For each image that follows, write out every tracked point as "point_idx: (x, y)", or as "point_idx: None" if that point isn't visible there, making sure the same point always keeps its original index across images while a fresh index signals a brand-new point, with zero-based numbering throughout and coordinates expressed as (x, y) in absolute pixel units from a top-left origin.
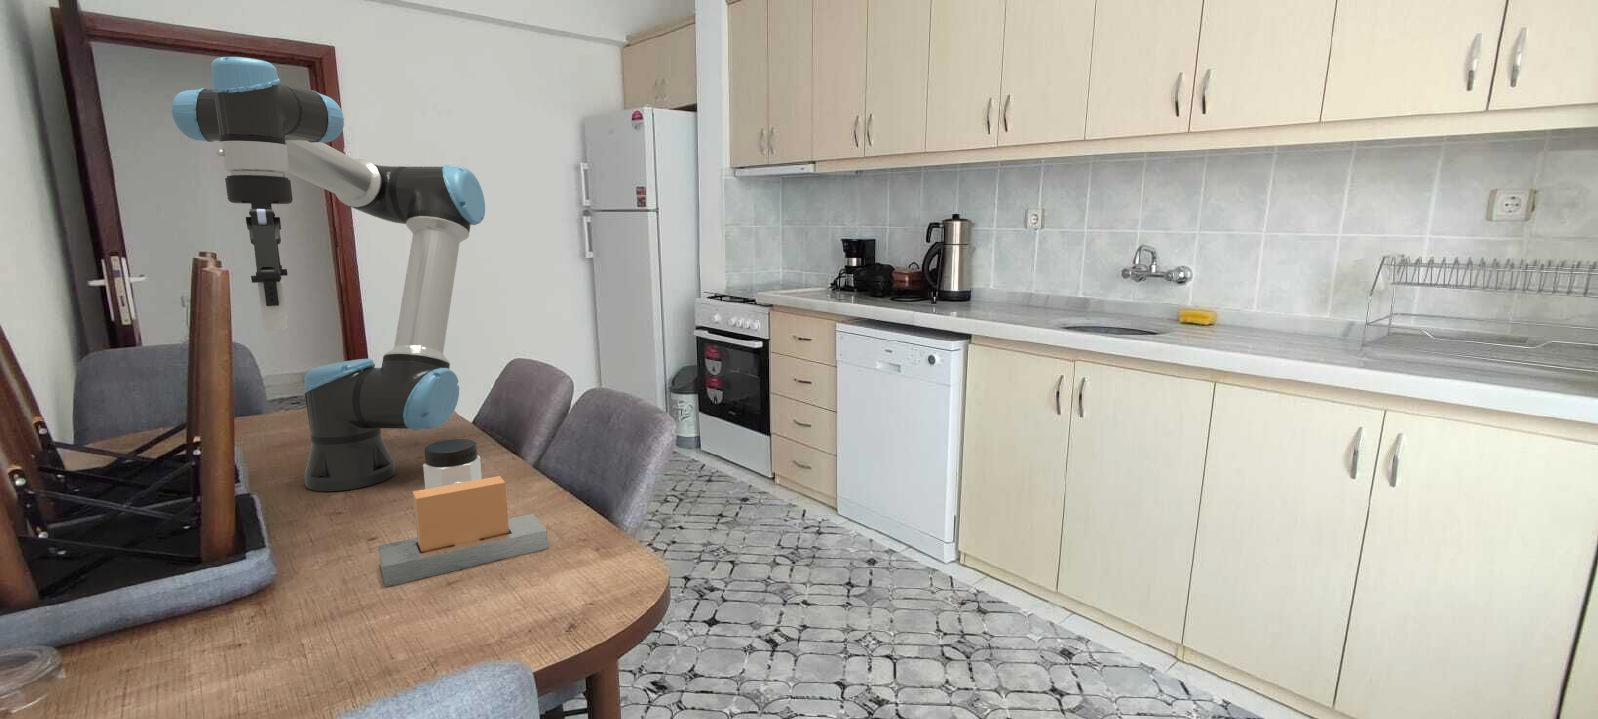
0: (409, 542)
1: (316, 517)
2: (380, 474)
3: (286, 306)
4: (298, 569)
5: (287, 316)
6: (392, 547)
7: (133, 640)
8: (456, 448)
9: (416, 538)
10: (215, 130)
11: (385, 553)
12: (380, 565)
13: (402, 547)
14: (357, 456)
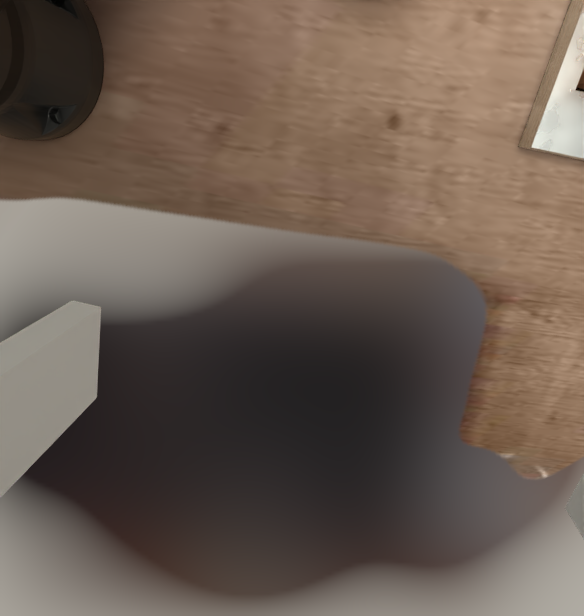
0: (565, 99)
1: (218, 166)
2: (78, 4)
3: (56, 338)
4: (427, 240)
5: (92, 313)
6: (561, 130)
7: (481, 407)
8: None
9: (558, 82)
10: None
11: (575, 147)
12: (532, 149)
13: (577, 116)
14: (51, 39)
